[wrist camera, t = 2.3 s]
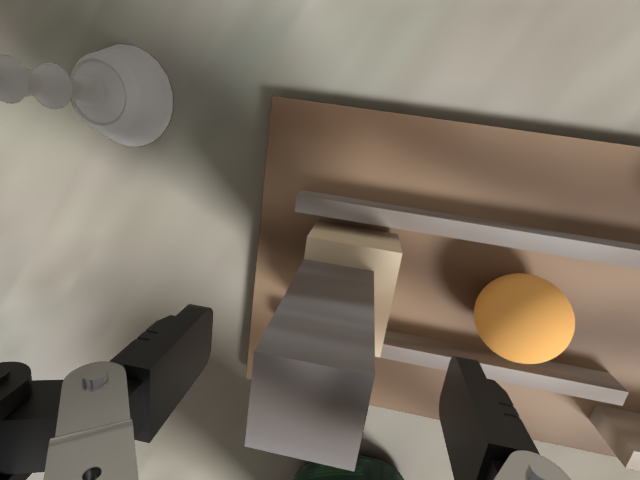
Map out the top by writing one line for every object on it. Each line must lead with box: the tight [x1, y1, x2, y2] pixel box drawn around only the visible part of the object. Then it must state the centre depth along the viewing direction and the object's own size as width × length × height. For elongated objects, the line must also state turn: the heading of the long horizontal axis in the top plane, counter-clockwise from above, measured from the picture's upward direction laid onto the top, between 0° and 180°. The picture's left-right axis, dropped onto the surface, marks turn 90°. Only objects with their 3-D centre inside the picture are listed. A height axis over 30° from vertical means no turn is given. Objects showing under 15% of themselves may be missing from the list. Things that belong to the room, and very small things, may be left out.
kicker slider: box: [245, 221, 403, 471], centre depth 14 cm, size 5×4×10 cm
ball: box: [474, 273, 575, 364], centre depth 17 cm, size 4×4×4 cm
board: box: [246, 96, 640, 471], centre depth 18 cm, size 16×28×4 cm, turn 82°
